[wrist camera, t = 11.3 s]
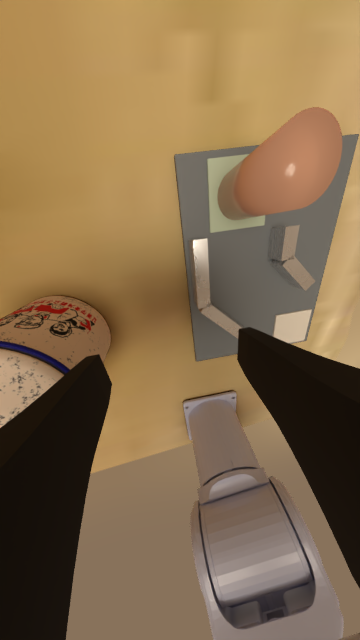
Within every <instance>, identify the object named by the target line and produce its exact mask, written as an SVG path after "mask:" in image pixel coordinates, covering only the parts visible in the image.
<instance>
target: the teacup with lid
mask: <svg viewBox="0 0 360 640" xmlns="http://www.w3.org/2000/svg"><path fill="white" fill-rule="evenodd" d="M110 343H111V334H110V330H109V327H108V325H107V323H106V321H105V319H104V318H103V317H102V316H101V314H100V313H99V312H98V311H96V310H95V309H94V308H93V307H91V306H90V305H88V304H86V303H84V302H82V301H80V300H77V299H74V298H71V297H65V296H48V297H43V298H40V299H37V300H35V301H33V302H31V303H29V304H27V305H26V306H24V307H22V308H20V309H18V310H16V311H14V312H13V313H11V314H9V315H7V316H5V317H3V318H2V319H0V428H1V427H2V426H4V425H5V424H6V423H7V422H9V421H10V420H11V419H13V418H14V417H15V416H17V415H18V414H19V413H20V412H22V411H23V410H24V409H25V408H26V407H28V406H29V405H30V404H31V403H32V402H34V401H35V400H36V399H37V398H39V397H40V396H41V395H42V394H43V393H45V392H46V391H47V390H48V389H49V388H50V387H52V386H53V385H54V384H55V383H56V382H57V381H58V380H60V379H61V378H62V377H63V376H64V375H65V374H66V373H67V372H69V371H70V370H71V369H72V368H73V367H74V366H75V365H77V364H78V363H79V362H80V361H81V360H83V359H84V358H85V357H87V356H92V355H97V354H99V355H100V357H101V360H102V362H104V360H105V357H106V355H107V352H108V350H109V347H110Z"/></svg>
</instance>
